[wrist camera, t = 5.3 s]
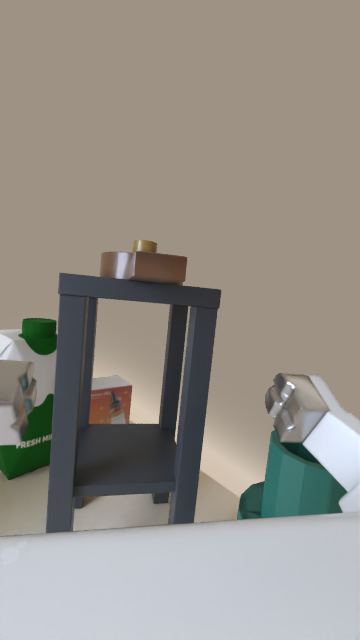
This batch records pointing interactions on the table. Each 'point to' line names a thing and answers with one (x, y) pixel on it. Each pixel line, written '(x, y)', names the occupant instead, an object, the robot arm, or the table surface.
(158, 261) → the lid
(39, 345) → the milk carton
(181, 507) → the stand
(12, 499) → the table surface
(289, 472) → the bottle
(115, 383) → the small box
